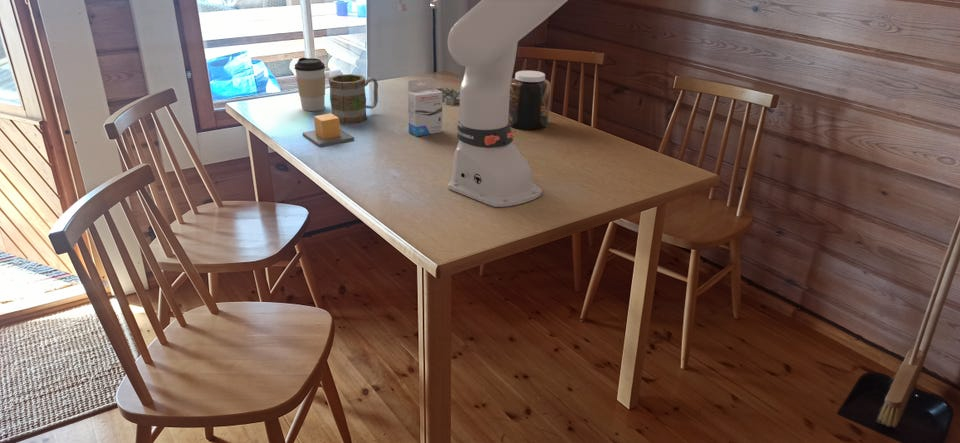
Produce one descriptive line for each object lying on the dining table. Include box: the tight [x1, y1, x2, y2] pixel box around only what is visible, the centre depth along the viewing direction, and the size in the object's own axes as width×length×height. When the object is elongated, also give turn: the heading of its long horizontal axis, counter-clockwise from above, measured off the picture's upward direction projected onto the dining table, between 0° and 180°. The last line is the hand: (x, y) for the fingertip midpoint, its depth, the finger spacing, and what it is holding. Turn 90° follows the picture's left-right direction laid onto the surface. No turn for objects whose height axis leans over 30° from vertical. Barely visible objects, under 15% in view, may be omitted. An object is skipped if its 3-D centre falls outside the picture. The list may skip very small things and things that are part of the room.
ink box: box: [407, 77, 443, 137], centre depth 187 cm, size 8×5×15 cm, turn 123°
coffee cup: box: [294, 57, 326, 112], centre depth 205 cm, size 9×9×15 cm
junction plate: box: [302, 128, 355, 148], centre depth 183 cm, size 11×10×4 cm
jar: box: [508, 70, 551, 131], centre depth 195 cm, size 12×12×15 cm
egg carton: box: [434, 87, 460, 106], centre depth 219 cm, size 11×8×4 cm
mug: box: [328, 73, 379, 125], centre depth 198 cm, size 16×11×12 cm
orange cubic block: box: [313, 113, 341, 139], centre depth 182 cm, size 5×5×5 cm
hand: (418, 9), depth 170 cm, fingers open, 8 cm apart
